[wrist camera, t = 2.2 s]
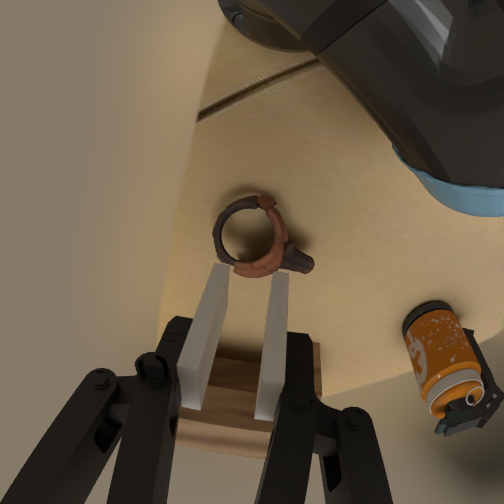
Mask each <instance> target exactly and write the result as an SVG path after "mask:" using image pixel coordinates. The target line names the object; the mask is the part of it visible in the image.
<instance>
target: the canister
mask: <svg viewBox="0 0 504 504" xmlns="http://www.w3.org/2000/svg"><path fill="white" fill-rule="evenodd" d="M473 334H474V330H470V329H465V328H462V327H461V325H460V323H459V321H458V319H457V317H456V315H455V313H454V312H453V310H452V308H451V307H450V306H449V305H447V304H445V303H441V302H436V303H430V304H427V305H424V306H422V307H420V308H419V309H417V310H416V311H414V312H413V313H412V314H411V315H410V316H409V317H408V319H407V320H406V322H405V324H404V326H403V337H404V340H405V343H406V346H407V350H408V353H409V356H410V359H411V362H412V366H413V369H414V372H415V376H416V379H417V383H418V387H419V390H420V394H421V397H422V399H423V401H425V402H426V403H427V404H428V407H429V410H430V412H431V414H433V415H434V416H435V417H437V418H442V419H441V420H440V421H439V423H438V425H437V427H436V429H435V434H441V433H442V432H443V433H444V436H445V437H447V436H450V435H452V434H453V433H457V432H460V431H464V430H467V429H471V428H474V427H478V428H482V427H483V426H484V425H485V424H486V423H487V421H488V420H489V419H490V418H491V416H492V415H493V414H494V413H495V411H496V410H497V409H498V408H499V406H500V403H501V402H502V401H503V399H504V393H503V392H502V391H501V389H500V388H499V387H498V386H497V385H496V383H495V381H494V377H493V375H492V373H491V370H490V368H489V367H488V365H487V363H486V361H485V359H484V357H483V354H482V352H481V350H480V348H479V346H478V344H477V342H476V340H475V338H474V336H473ZM493 394H496V395H497V397H496V398H494V397H493V396H492V395H493ZM488 403H490V404H491V405H490V407H489V408H488V409H487V407H486V405H487V404H488Z"/></svg>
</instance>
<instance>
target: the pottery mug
mask: <svg viewBox="0 0 504 504" xmlns="http://www.w3.org/2000/svg"><path fill="white" fill-rule="evenodd" d="M276 204H277V202H276V201H275V200H273V199H270V198H268V197H264V196H260V197H259V196H257V195H253V196H248V197H245V198H242V199H239V200H236V201H234V202H233V203H231V204H230V205H228V206H227V207H226V210H224V211H223V212H221V214H220V215H219V217H218V219H217V221H216V223H215V226H214V229H213V232H212V235H213V237H214V244H215V248H216V252H217V257H218V258H219V260H220V261H221V262H222V263H226V264H230V265H232V266H235V267H234V270H233V272H234V273H236V274H238V275H240V276H243V277H247V278H259V277H263V276H267V275H270V274H272V273H273V271H277V270H278V269H279V268H280V269H287V270H291V271H297V272H301V273H303V274H307V273H309V272H311V270H313V268H314V265H315V264H314V260H313V258H312V257H310V256H308V255H306V254H304V253H303V252H301V251H300V250H298V249H297V247H296V246H295V242H294V241H293V240H289V243H288V244H287V245H286V246H285V248H284V247H283V243H284V242H286V241H288V236H287V231H286V226H285V224H284V221H283V219H282V217H281V215H280V213H279V212H278V210H277V209H276V208H275V207H274V206H273V205H276ZM257 207H259V208H261V209H263V210H265V211H266V215H267V217H268V218H269V219H270V221H271V222H272V224H273V227H274V242H273V245H272V247H271V249H270V250H269V251H268V253H267V254H266V255H265V256H263V257H262V258H260V259H258V260H255V261H251V262H245V261H243V260H242V259H240V260H236V259H234V258H233V257H231V256H230V255H229V254H228V253H227V251H226V250H225V248H224V246H223V243H222V240H221V235H222V229H223V226H224V224H225V222H226V220H227V219H228V218H229V217H230V216H231V215H232V214H234V213H235V212H237V211H239V210H242V209H257Z"/></svg>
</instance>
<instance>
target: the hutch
mask: <svg viewBox="0 0 504 504" xmlns="http://www.w3.org/2000/svg"><path fill="white" fill-rule="evenodd" d="M313 356H314V361H313V362H314V388H315V394H316V396H317V398H318V399H319V400H320V399H321V396H322V382H321V362H320V345H319V343H313ZM260 368H261V363H257V362H250V361H242V360H236V359H229V358H223V357H217V356H215V357H214V360H213V364H212V368H211V372H210V376H209V380H208V383H207V387H206V391H205V395H204V399H203V403H202V407H201V411H200V410H195V409H190V408H185V407H182V403H180V407H179V410H178V412H179V421H178V427H177V434H176V440H175V444H177V445H181V446H186V447H191V448H196V449H201V450H206V451H212V452H217V453H223V454H230V455H236V456H243V457H252V458H260V459H266V454H267V450H268V446H269V442H270V441H269V439H270V436H271V433H272V430H273V426H274V420H273V421H266V420H258V419H254V416H255V408H256V400H257V392H258V384H259V376H260Z"/></svg>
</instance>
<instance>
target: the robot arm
mask: <svg viewBox="0 0 504 504" xmlns="http://www.w3.org/2000/svg"><path fill="white" fill-rule="evenodd" d="M218 3H219V6H220V8H221V10H222V12H223V14H224V15H225V17H226V18H227V20H228V21H229V22H230V23H231V24H232V25H233V26H234V27H235V28H236V29H237V30H238V31H239V32H240V33H241V34H242V35H244V36H245V37H246V38H248V39H249V40H251V41H253V42H255V43H257V44H259V45H261V46H264V47H267V48H270V49H273V50H278V51H284V52H308V51H311V52H312V53H313V54H314V55H315V56H317V55H318V56H317V57H316V58H317V59H318V60H319V61H320V62H321V63H322V64H323V65H324V66H325V67H326V68H327V69H328V70H329V71H330V72H331V73H332V74H333V75H334V76H335V77H336V78H337V79H338V80H339V81H340V82H341V83H342V84H343V86H344V87H345V88H346V89H347V90H348V91H349V92H350V93H351V94H352V95H353V97H354V98H355V99H356V100H357V101H358V102H359V103H360V105H361V106H362V107H363V108H364V109H365V110H366V112H367V113H368V114H369V115H370V116H371V118H372V119H373V120H374V121H375V122H376V124H377V125H378V126H379V127H380V129H381V130H382V131H383V132H384V134H385V135H386V136H387V137H388V139H389V140H390V141H391V143H392V147H393V149H394V151H395V153H396V155H397V156H398V158H399V159H400V161H401V162H402V163H403V164H404V165H406V166H407V167H408V168H409V170H410V171H412V172H413V173H414V174H415V175H416V176H417V178H418V179H419V180H420V182H421V183H422V184H423V186H424V187H425V188H426V190H427V191H428V192H429V193H430V194H431V195H432V196H433V197H434V198H435V199H437V200H438V201H439V202H440V203H442V204H443V205H445V206H447V207H449V208H451V209H453V210H455V211H457V212H460V213H464V214H467V215H472V216H479V217H502V216H504V0H218ZM322 51H323V52H322ZM321 52H322V53H321ZM229 271H230V265H224V264H217V263H215V264H214V266H213V269H212V271H211V274H210V277H209V279H208V282H207V284H206V287H205V290H204V292H203V295H202V298H201V300H200V303H199V306H198V308H197V311H196V314H195V316H194V319H192V318H186V317H181V316H175V317H174V318H173V319H172V320H171V321H169V322H168V324H167V326H166V328H165V331H164V333H163V335H162V337H161V340H160V342H159V344H158V347H157V349H156V351H155V352H148V353H145V354H142V355H141V356H140V357H138V358H137V360H136V361H135V367H136V371H137V374H138V375H135V376H120V377H119V376H116V375H115V373H114V372H112V371H111V370H109V369H105V368H100V369H99V368H98V369H95V370H93V371H91V372H90V373H89V374H88V375H86V377H85V378H84V379H83V381H82V382H81V384H80V385H79V386H78V388H77V389H76V390H75V392H74V393H73V395H72V396H71V397H70V399H69V400H68V401H67V403H66V404H65V406H64V407H63V409H62V410H61V411H60V413H59V414H58V416H57V417H56V418H55V420H54V421H53V423H52V424H51V426H50V427H49V428H48V430H47V431H46V433H45V434H44V436H43V437H42V439H41V440H40V442H39V443H38V445H37V446H36V448H35V449H34V451H33V452H32V454H31V455H30V457H29V458H28V460H27V461H26V463H25V464H24V466H23V467H22V469H21V470H20V472H19V473H18V475H17V477H16V478H15V480H14V481H13V483H12V485H11V486H10V488H9V489H8V491H7V492H6V494H5V496H4V497H3V499H2V501H1V502H0V504H84V503H85V501H86V499H87V497H88V496H89V494H90V492H91V490H92V488H93V486H94V485H95V483H96V481H97V479H98V477H99V476H100V474H101V472H102V470H103V468H104V467H105V465H106V463H107V461H108V459H109V458H110V456H111V454H112V453H113V451H114V449H115V447H116V445H117V444H118V442H119V440H120V438H121V437H122V438H121V442H120V446H119V451H118V455H117V459H116V463H115V467H114V472H113V476H112V480H111V485H110V489H109V494H108V499H107V504H167V497H168V489H169V482H170V474H171V468H172V460H173V454H174V447H175V440H176V434H177V427H178V421H179V412H178V410H179V407H180V403H182V407H185V408H190V409H195V410H200V411H201V407H202V403H203V399H204V395H205V391H206V387H207V383H208V380H209V376H210V372H211V368H212V364H213V360H214V357H215V353H216V349H217V345H218V341H219V337H220V334H221V330H222V326H223V322H224V318H225V315H226V311H227V304H228V287H229ZM288 284H289V273H283V272H276V271H273V277H272V283H271V290H270V296H269V303H268V309H267V316H266V325H265V334H264V342H263V351H262V359H261V368H260V376H259V384H258V392H257V400H256V408H255V416H254V419H258V420H266V421H273V420H274V426H273V430H272V433H271V436H270V439H269V441H270V442H269V446H268V450H267V454H266V459H265V463H264V467H263V471H262V475H261V479H260V483H259V487H258V491H257V495H256V499H255V503H254V504H304V503H305V498H306V491H307V486H308V480H309V473H310V466H311V460H312V453H315V454H318V455H319V461H320V467H321V474H322V481H323V488H324V495H325V502H326V504H393V501H392V497H391V492H390V488H389V484H388V480H387V475H386V472H385V467H384V463H383V460H382V456H381V452H380V448H379V445H378V440H377V437H376V433H375V430H374V426H373V422H372V419H371V417H370V415H369V414H368V413H367V412H366V411H365V410H363V409H361V408H359V407H348V408H345V409H343V410H342V411H340V410H337V409H334V408H331V407H329V406H327V405H325V404H323V403H322V402H321V401H320V400H319V399H318V398H317V396H316V394H315V388H314V362H313V361H314V356H313V342H312V340H311V339H310V337H309V335H308V334H304V333H295V332H287V317H288Z"/></svg>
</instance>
